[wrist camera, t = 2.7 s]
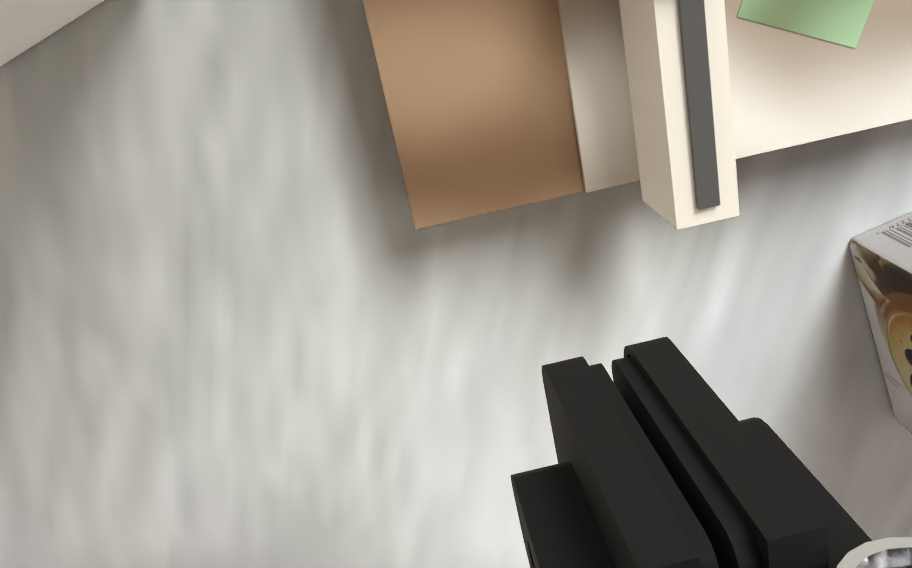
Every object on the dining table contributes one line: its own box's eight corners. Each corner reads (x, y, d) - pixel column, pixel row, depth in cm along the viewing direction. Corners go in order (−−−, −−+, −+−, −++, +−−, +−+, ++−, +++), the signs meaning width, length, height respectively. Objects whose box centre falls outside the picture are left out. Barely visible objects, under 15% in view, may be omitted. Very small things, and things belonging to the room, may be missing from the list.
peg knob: (554, -164, 22) (593, -191, 18) (699, -195, 22) (767, -227, 18) (604, 205, 26) (645, 245, 22) (726, 177, 26) (787, 212, 22)
